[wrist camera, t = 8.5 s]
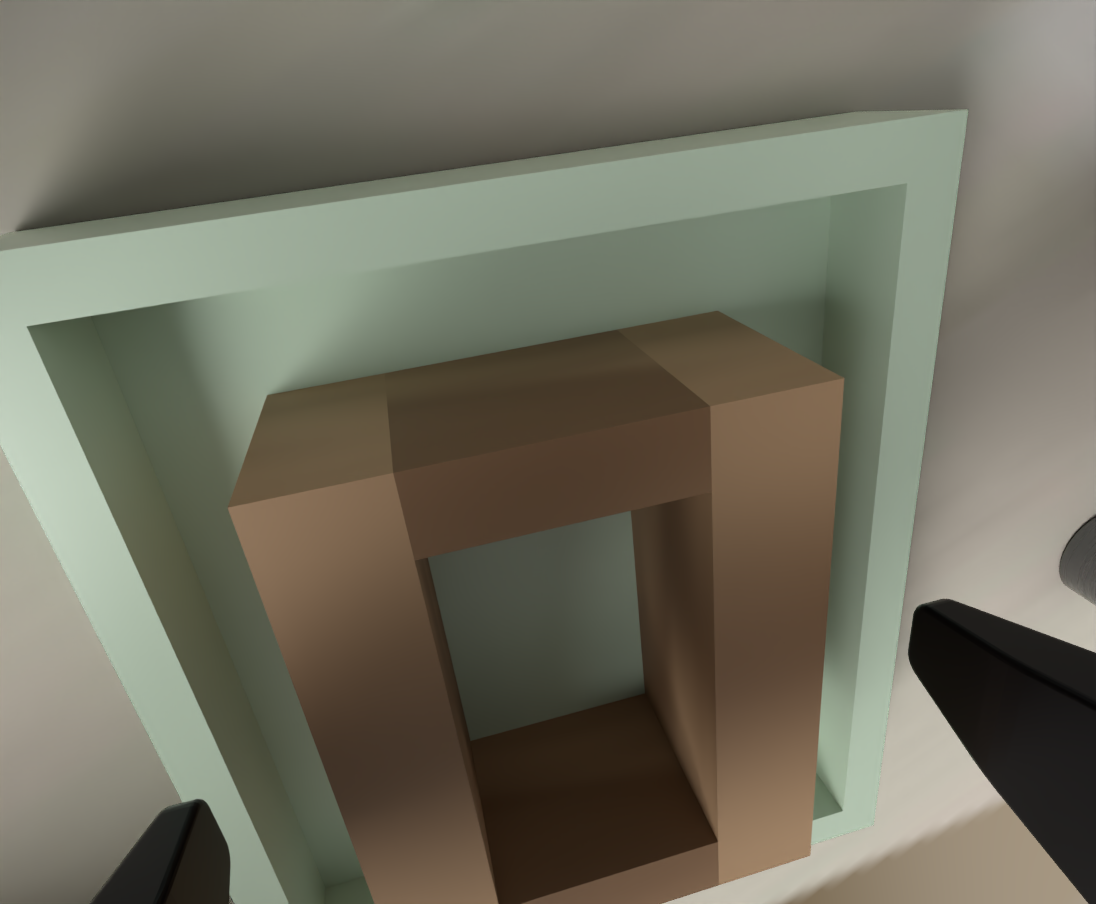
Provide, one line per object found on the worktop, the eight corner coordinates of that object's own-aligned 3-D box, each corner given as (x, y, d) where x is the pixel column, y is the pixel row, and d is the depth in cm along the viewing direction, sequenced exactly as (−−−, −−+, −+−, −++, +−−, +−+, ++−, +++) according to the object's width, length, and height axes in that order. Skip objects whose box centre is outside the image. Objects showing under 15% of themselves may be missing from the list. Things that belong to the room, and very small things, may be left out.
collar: (722, 712, 14) (810, 855, 11) (396, 804, 13) (404, 986, 10) (717, 311, 10) (844, 378, 7) (267, 394, 9) (228, 507, 6)
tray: (10, 232, 8) (-93, 263, 6) (855, 110, 10) (968, 109, 8) (299, 891, 14) (289, 1012, 12) (812, 741, 15) (873, 825, 14)
